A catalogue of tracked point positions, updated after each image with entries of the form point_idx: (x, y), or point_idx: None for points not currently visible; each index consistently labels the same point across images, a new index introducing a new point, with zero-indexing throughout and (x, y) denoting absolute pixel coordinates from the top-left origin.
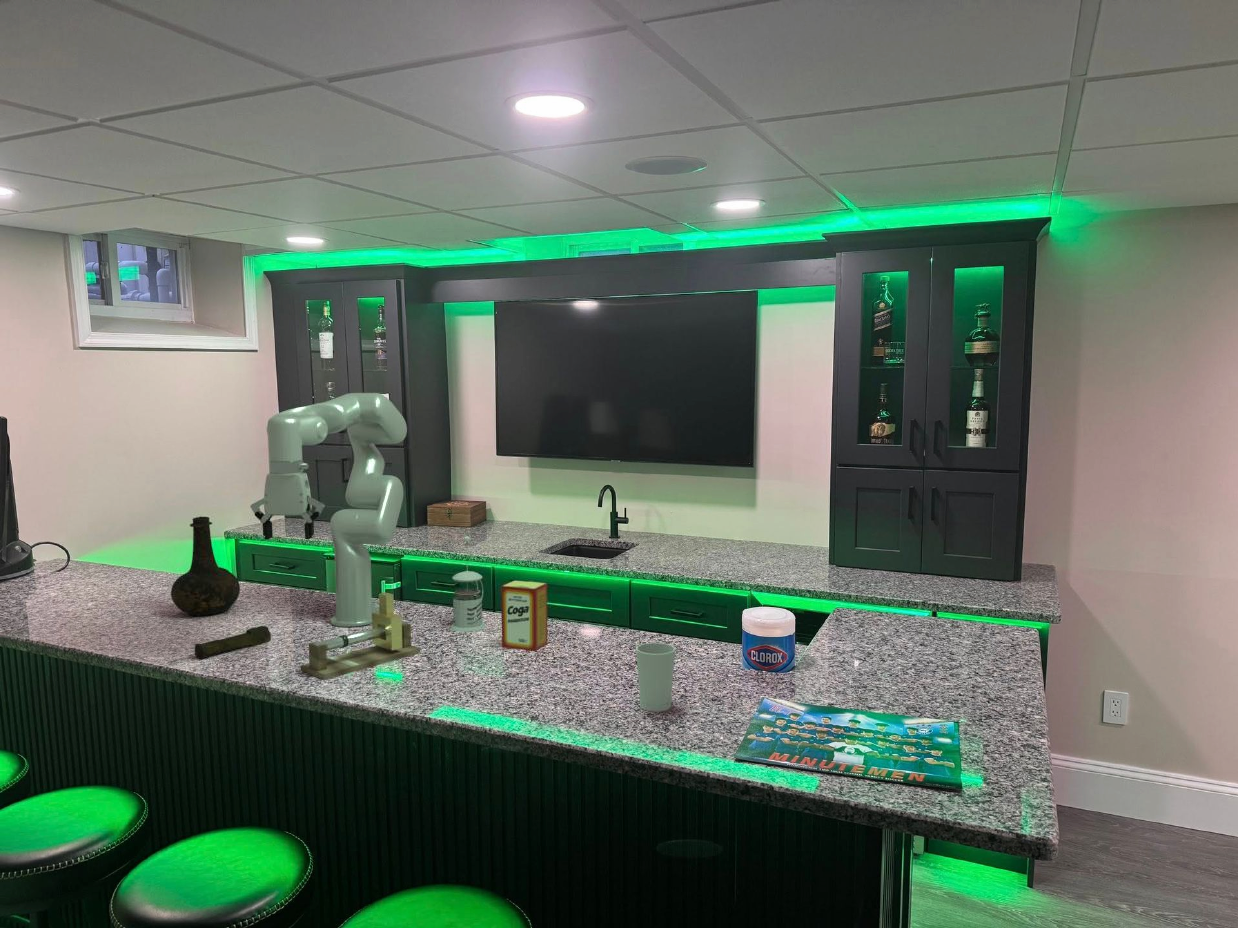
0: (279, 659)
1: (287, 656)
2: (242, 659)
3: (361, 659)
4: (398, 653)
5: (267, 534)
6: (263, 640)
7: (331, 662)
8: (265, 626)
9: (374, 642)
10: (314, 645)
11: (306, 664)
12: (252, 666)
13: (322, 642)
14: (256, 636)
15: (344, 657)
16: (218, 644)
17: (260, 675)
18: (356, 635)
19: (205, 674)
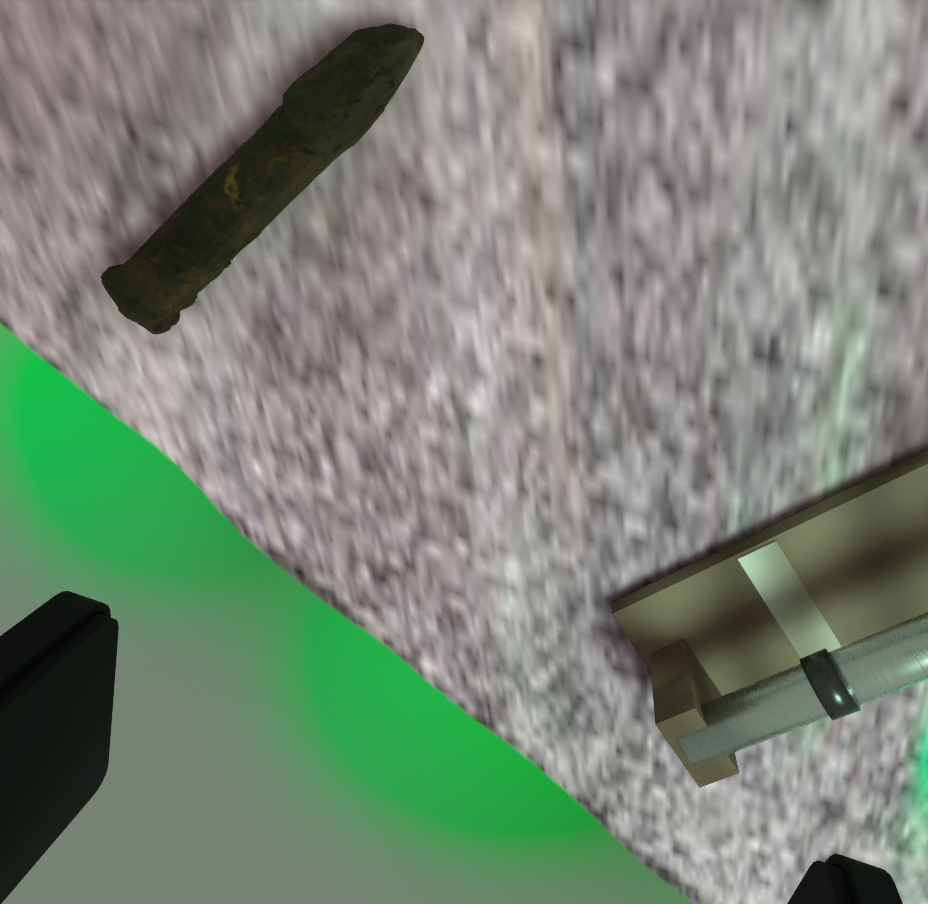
0: (510, 417)
1: (542, 380)
2: (347, 367)
3: (891, 623)
4: None
5: (45, 850)
6: (391, 95)
7: (747, 618)
8: (377, 54)
9: None
10: (682, 761)
11: (636, 609)
12: (409, 483)
13: (722, 752)
14: (351, 129)
15: (814, 569)
16: (201, 272)
17: (459, 607)
18: (914, 683)
19: (252, 526)
